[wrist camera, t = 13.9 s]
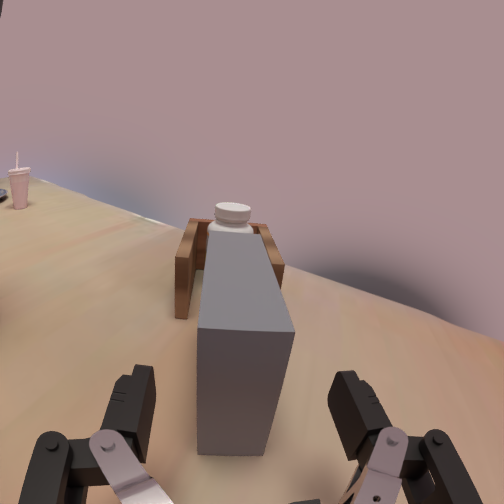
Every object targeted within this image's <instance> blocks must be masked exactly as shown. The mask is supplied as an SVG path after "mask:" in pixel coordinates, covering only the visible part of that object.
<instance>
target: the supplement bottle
mask: <svg viewBox="0 0 504 504" xmlns="http://www.w3.org/2000/svg"><path fill="white" fill-rule="evenodd" d="M250 213H251V208H250V207H249V206H246V205H243V204H238V203H231V202H228V203H227V202H224V203H218V204H216V206H215V214H214V215H215V218H216V220H215V221H213V222H211V223H210V224H209V226H208V228H207V239H206V253H207V246H208V239H209V232H210V230H212V231H225V232H237V233H250V234H254V232H253V228H252V227H251V226H250V225H249V224H248V223H247V221H248V220H249V219H250ZM206 253H205V261H206ZM204 269H205V267H204Z"/></svg>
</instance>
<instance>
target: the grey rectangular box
mask: <svg viewBox="0 0 504 504" xmlns="http://www.w3.org/2000/svg"><path fill="white" fill-rule="evenodd" d="M294 336H295V330H294V327H293V324H292V321H291V318H290V315H289V313H288V310H287V307H286V304H285V301H284V298H283V296H282V293H281V290H280V287H279V284H278V282H277V279H276V276H275V273H274V271H273V268H272V265H271V262H270V259H269V257H268V254H267V251H266V248H265V246H264V243H263V240H262V237H261V235H260V234H250V233H237V232H225V231H212V230H210V232H209V239H208V246H207V253H206V261H205V269H204V277H203V285H202V293H201V301H200V310H199V319H198V329H197V451H198V455H216V456H263V454H264V450H265V447H266V443H267V440H268V436H269V433H270V429H271V426H272V422H273V419H274V415H275V411H276V408H277V404H278V400H279V396H280V393H281V389H282V385H283V381H284V377H285V373H286V369H287V365H288V361H289V357H290V353H291V348H292V344H293V340H294Z"/></svg>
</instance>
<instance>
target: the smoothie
mask: <svg viewBox="0 0 504 504" xmlns="http://www.w3.org/2000/svg"><path fill="white" fill-rule="evenodd" d="M29 172H30V168H18V152H16V169H12V170H9V171H8V175H9V178H10V185H11V192H12V198H13V204H14V209H23V208H26V207H27V198H28V183H29Z"/></svg>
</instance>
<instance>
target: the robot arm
mask: <svg viewBox="0 0 504 504" xmlns="http://www.w3.org/2000/svg"><path fill="white" fill-rule="evenodd" d="M2 5H3V0H0V16H1V12H2ZM155 403H156V387H155V379H154V370H153V366H146V365H137V364H136V365H135V366H134V369H133V373H132V376H130V375H122V376H121V377H120V378H119V379H118V380H117V381H116V383H115V386H114V389H113V393H112V394H111V398H110V401H109V404H108V407H107V410H106V413H105V416H104V419H103V423H102V426H101V428H100V430H99V431H97V432H96V433H94V434H93V435H92V436H91V437H90V438H86V439H73V440H67V438H66V437H65V436H64V435H63V434H61V433H59V432H55V431H49V432H45V433H43V434H42V435H40V436H39V438H38V439H37V442H36V445H35V447H34V450H33V454H32V457H31V460H30V463H29V466H28V470H27V473H26V476H25V480H24V483H23V487H22V491H21V495H20V499H19V503H18V504H86V499H87V492H88V486H101V485H110V486H111V487H112V489H113V490H114V492H115V494H116V495H117V497H118V498H119V500H120V501H121V503H122V504H174V503H173V502H172V501H171V499H170V498H169V497H168V496H167V494H166V493H165V492H164V491H163V489H162V488H161V487H160V486H159V484H158V483H157V482H156V481H155V479H154V478H153V477H150V476H149V475H148V474H147V472H146V471H145V469H144V468H143V467H142V465H141V464H140V463H146V457H147V450H148V444H149V438H150V432H151V426H152V420H153V414H154V409H155ZM328 407H329V409H330V412H331V415H332V418H333V420H334V423H335V426H336V428H337V431H338V434H339V437H340V439H341V442H342V445H343V448H344V450H345V453H346V456H347V459H348V461H351V460H356V459H357V460H358V463H359V464H358V465H357V467H356V469H355V471H354V474H353V476H352V478H351V480H350V482H349V484H348V486H347V488H346V490H345V492H344V494H343V496H342V498H341V499H340V501H339V502H338V504H395V502H396V499H397V496H398V493H399V490H400V487H401V485H402V487H403V490H404V493H405V496H406V498H407V501H408V504H483V503H482V501H481V499H480V496H479V494H478V492H477V490H476V488H475V486H474V484H473V482H472V480H471V478H470V476H469V474H468V472H467V470H466V468H465V466H464V464H463V462H462V460H461V459H460V457H459V455H458V453H457V451H456V449H455V447H454V445H453V444H452V442H451V440H450V438H449V436H448V435H447V434H446V433H445V432H443V431H441V430H438V429H433V430H430V431H428V432H427V433H426V434H425V436H424V437H414V436H407V435H406V433H405V432H404V431H402V430H401V429H399V428H396V427H393V426H392V424H391V422H390V420H389V419H388V417H387V415H386V413H385V411H384V409H383V407H382V405H381V403H379V400H378V398H377V397H376V394H375V392H374V390H373V389H372V387H371V386H370V385H369V384H368V383H366V382H365V381H364V380H361V381H360V380H359V378H358V376H357V374H356V372H355V371H353V370H351V371H338V372H337V373H336V375H335V378H334V381H333V383H332V386H331V388H330V391H329V394H328ZM429 471H430V473H431V475H430V473H429ZM431 476H432V477H431ZM432 478H433V480H434V482H435V484H434V482H433V480H432ZM290 504H321V503H320V499H314V500H307V501H299V502H293V503H290Z"/></svg>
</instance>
